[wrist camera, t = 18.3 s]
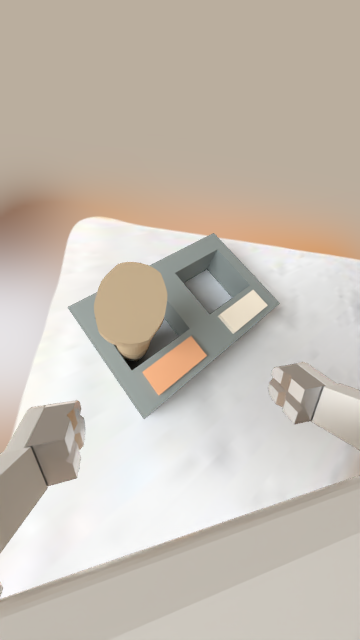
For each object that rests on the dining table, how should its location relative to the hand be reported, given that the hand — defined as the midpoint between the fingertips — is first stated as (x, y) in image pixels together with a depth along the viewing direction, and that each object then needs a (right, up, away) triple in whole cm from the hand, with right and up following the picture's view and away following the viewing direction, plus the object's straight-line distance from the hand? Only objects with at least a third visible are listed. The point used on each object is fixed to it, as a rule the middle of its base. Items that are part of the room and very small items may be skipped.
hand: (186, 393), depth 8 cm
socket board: (-1, +4, +23) cm, 23 cm away
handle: (-7, -1, +20) cm, 21 cm away
